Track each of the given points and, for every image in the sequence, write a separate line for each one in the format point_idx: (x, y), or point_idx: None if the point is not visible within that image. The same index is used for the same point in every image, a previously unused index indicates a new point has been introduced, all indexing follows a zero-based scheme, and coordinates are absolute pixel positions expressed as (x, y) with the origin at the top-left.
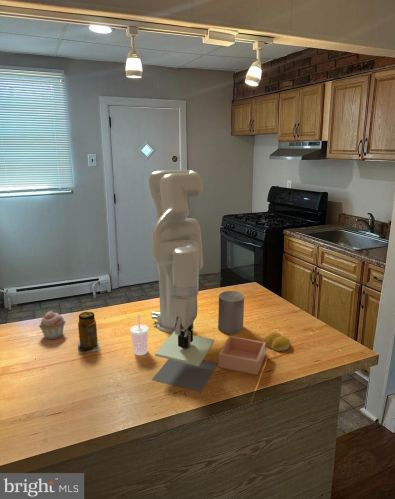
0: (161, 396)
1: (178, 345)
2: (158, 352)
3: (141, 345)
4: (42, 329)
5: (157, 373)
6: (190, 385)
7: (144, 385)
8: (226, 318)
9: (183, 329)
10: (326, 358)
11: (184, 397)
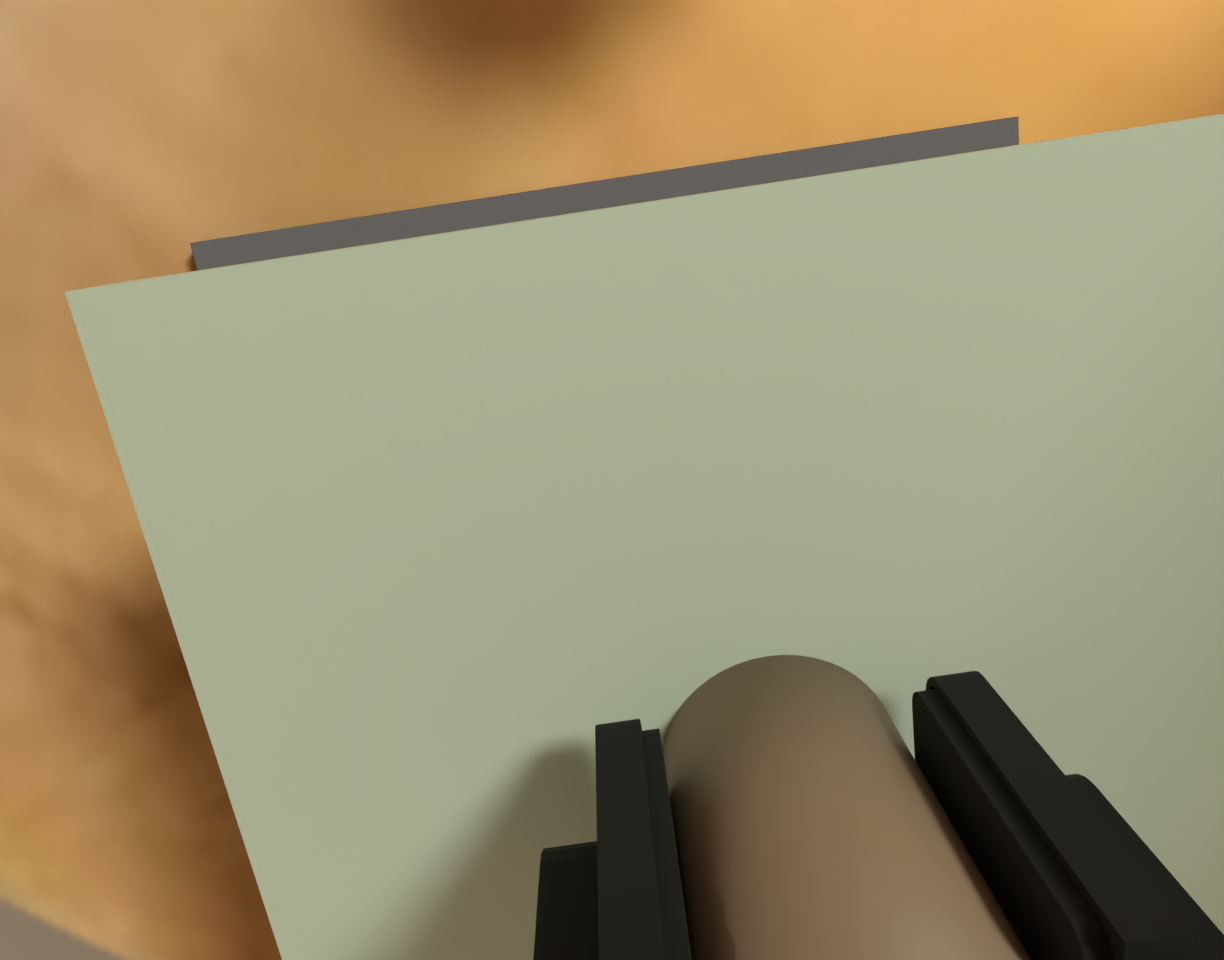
0: (27, 566)
1: (598, 737)
2: (166, 348)
3: None
4: None
5: (378, 227)
6: None
7: (50, 212)
8: None
9: (1119, 934)
10: None
11: (197, 800)
